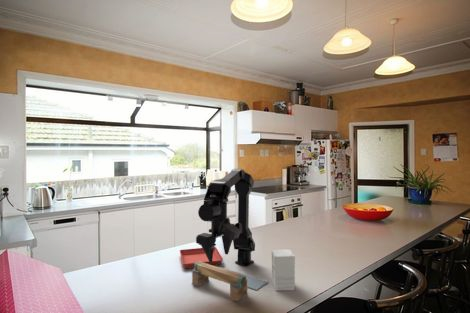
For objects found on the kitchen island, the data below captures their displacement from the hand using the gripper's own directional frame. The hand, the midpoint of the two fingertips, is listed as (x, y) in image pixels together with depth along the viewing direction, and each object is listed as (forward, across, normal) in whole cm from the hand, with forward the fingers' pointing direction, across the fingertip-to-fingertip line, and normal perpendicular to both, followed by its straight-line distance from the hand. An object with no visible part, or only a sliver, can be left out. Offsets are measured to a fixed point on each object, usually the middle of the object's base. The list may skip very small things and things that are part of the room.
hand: (218, 257), depth 100 cm
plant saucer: (+12, +16, +24) cm, 31 cm away
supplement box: (+12, +16, -18) cm, 27 cm away
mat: (+11, +11, 0) cm, 16 cm away
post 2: (+11, 0, -9) cm, 15 cm away
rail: (+7, 0, 0) cm, 7 cm away
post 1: (+11, 0, +9) cm, 14 cm away
